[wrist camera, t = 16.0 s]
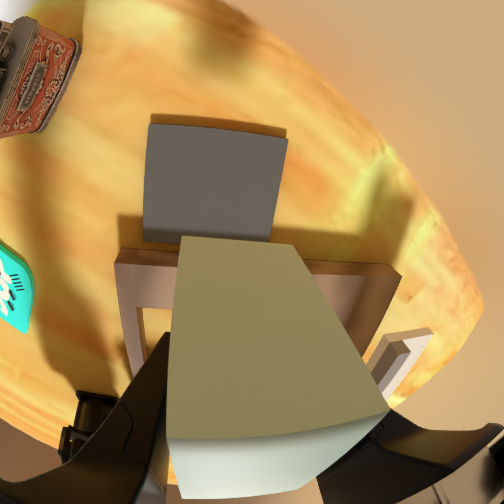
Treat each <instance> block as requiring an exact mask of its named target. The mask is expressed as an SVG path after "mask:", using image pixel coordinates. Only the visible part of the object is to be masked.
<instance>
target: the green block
mask: <svg viewBox="0 0 504 504" xmlns="http://www.w3.org/2000/svg"><path fill="white" fill-rule="evenodd" d="M389 411H390V408H389V406H388V404H387V402H386V400H385V399H384V397H383V395H382V393H381V391H380V390H379V388H378V386H377V384H376V382H375V381H374V379H373V377H372V375H371V373H370V372H369V370H368V368H367V366H366V365H365V363H364V361H363V359H362V358H361V356H360V354H359V352H358V351H357V349H356V347H355V346H354V344H353V342H352V340H351V339H350V337H349V335H348V334H347V332H346V330H345V329H344V327H343V325H342V324H341V322H340V320H339V319H338V317H337V315H336V314H335V312H334V310H333V309H332V307H331V305H330V304H329V302H328V300H327V299H326V297H325V296H324V294H323V292H322V291H321V289H320V287H319V286H318V284H317V283H316V281H315V279H314V278H313V276H312V275H311V273H310V271H309V270H308V268H307V267H306V265H305V264H304V262H303V260H302V259H301V257H300V256H299V254H298V253H297V251H296V249H295V248H294V246H293V245H290V244H279V243H267V242H255V241H244V240H232V239H219V238H207V237H194V236H182V238H181V245H180V252H179V259H178V267H177V275H176V283H175V292H174V301H173V311H172V321H171V333H170V346H169V361H168V380H167V410H166V438H167V443H168V447H169V452H170V456H171V460H172V464H173V468H174V472H175V475H176V479H177V483H178V486H179V489H180V493H181V496H182V498H183V499H220V498H237V497H247V496H257V495H265V494H272V493H278V492H284V491H290V490H295V489H299V488H300V487H302V486H303V485H305V484H306V483H307V482H309V481H310V480H312V479H313V478H315V477H316V476H317V475H319V474H320V473H321V472H323V471H324V470H325V469H327V468H328V467H329V466H330V465H332V464H333V463H334V462H335V461H337V460H338V459H339V458H340V457H342V456H343V455H344V454H345V453H346V452H347V451H349V450H350V449H351V448H352V447H353V446H354V445H355V444H357V443H358V442H359V441H360V440H361V439H362V438H363V437H364V436H365V435H366V434H367V433H368V432H369V431H370V430H371V429H373V428H374V427H375V426H376V425H377V424H378V423H379V422H380V421H381V419H382V418H383V417H384V416H385V415H386V414H387V413H388V412H389Z"/></svg>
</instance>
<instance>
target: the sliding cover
mask: <svg viewBox="0 0 504 504" xmlns="http://www.w3.org/2000/svg"><path fill="white" fill-rule="evenodd" d="M432 335H433V333H432V331H431V330H430V329H429V328H428V327H427V328H421V329H415V330H409V331H403V332H396V333H389V334H384V335H383V337H382V338H381V340H380V342H379V344H378V346H377V347H376V349H375V351H374V353H373V354H372V356H371V358H370V359H369V361H368V363H367V364H366V366H367V368H368V370H369V372H370V373H371V375H372V377H373V379H374V381H375V382H376V384H377V386H378V388H379V390H380V391H381V393H382V395H383V397H384V399H385V400H387V399H388V398H389V396H390V395H391V394H392V393H393V391H394V390H395V389H396V388H397V386H398V385H399V384H400V382H401V381H402V380H403V378H404V377H405V376H406V374H407V373H408V372H409V370H410V369H411V367H412V366H413V365H414V363H415V362H416V360H417V359H418V357H419V356H420V354H421V353H422V351H423V350H424V348H425V347H426V345H427V343H428V342H429V340H430V339H431V337H432Z"/></svg>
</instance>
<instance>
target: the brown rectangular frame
mask: <svg viewBox="0 0 504 504" xmlns="http://www.w3.org/2000/svg"><path fill="white" fill-rule="evenodd" d="M178 259H179V252H173V251H157V250H142V249H127V248H121V250H120V252H119V254H118V256H117V258H116V260H115V262H114V268H115V278H116V287H117V295H118V302H119V309H120V316H121V322H122V328H123V333H124V339H125V344H126V349H127V354H128V358H129V363H130V367H131V372H132V376H133V378H134V377H135V375H136V374H137V372H138V371H139V369H140V368H141V366H142V365H143V363H144V362H145V360H146V359H147V357H148V355H147V348H146V340H145V332H144V323H143V313H142V307H143V308H157V309H172V310H173V301H174V292H175V283H176V275H177V267H178ZM303 262H304V264H305V265H306V267H307V268H308V270H309V271H310V273H311V275H312V276H313V278H314V279H315V281H316V283H317V284H318V286H319V287H320V289H321V291H322V292H323V294H324V296H325V297H326V299H327V300H328V302H329V304H330V305H331V307H332V309H333V310H334V312H335V314H336V315H337V317H338V319H339V320H340V322H341V324H342V325H343V327H344V329H345V330H346V332H347V334H348V335H349V337H350V339H351V340H352V342H353V344H354V346H355V347H356V349H357V351H358V352H359V354H360V356H361V358H362V356H363V355H364V353H365V351H366V349H367V347H368V346H369V344H370V342H371V340H372V338H373V336H374V335H375V333H376V331H377V329H378V327H379V325H380V323H381V321H382V319H383V317H384V315H385V313H386V311H387V309H388V307H389V305H390V303H391V300H392V298H393V296H394V294H395V292H396V290H397V287H398V285H399V283H400V280H401V278H402V276H401V275H400V274H399V273H398V272H397V271H396V270H395V269H393V268H392V267H391V266H390V265H389V264H372V263H354V262H336V261H319V260H303Z"/></svg>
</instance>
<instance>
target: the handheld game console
mask: <svg viewBox="0 0 504 504" xmlns="http://www.w3.org/2000/svg"><path fill="white" fill-rule="evenodd" d="M33 300H34V281H33V276H32V273H31V271H30V269H29V267H28V266H27V264H26V263H24V262H23V261H22V260H21V259H19V258H18V257H17V256H15V255H14V254H13V253H11V252H10V251H9V250H7V249H6V248H5V247H3V246H2V245H1V244H0V317H1V318H2V319H4V320H5V321H6V322H8V323H9V324H11V325H12V326H14V327H15V328H16V329H18V330H19V331H21V332H22V333H24V334H26V332H27V331H28V327H29V321H30V315H31V310H32V305H33Z"/></svg>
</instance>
